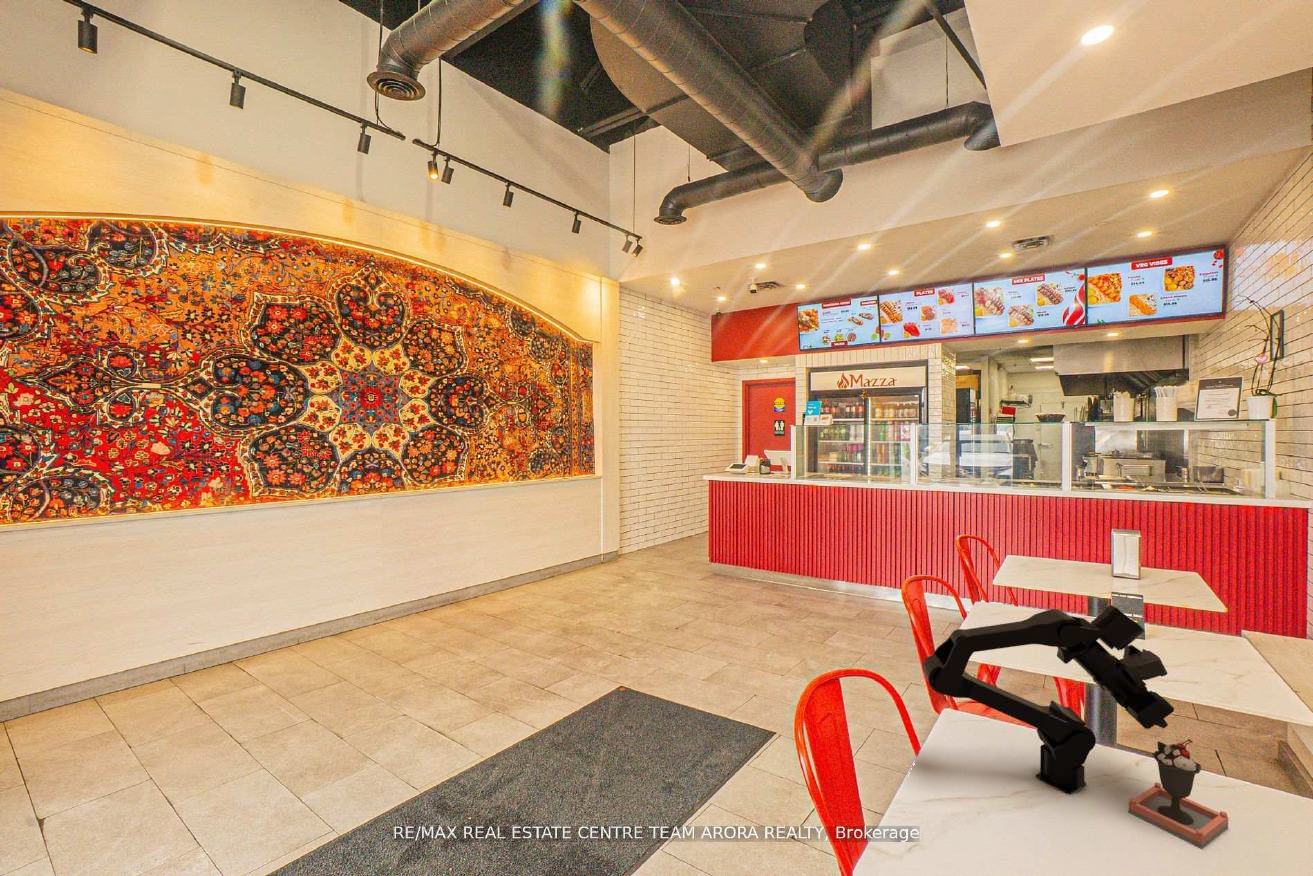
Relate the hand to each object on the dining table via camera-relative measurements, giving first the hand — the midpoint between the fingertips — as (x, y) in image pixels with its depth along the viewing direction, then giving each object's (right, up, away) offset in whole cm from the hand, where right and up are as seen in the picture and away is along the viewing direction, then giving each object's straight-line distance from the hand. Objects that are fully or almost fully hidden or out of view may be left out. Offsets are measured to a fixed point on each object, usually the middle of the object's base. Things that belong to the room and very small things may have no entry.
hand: (1165, 726), depth 114 cm
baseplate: (-4, -14, -7) cm, 16 cm away
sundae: (-4, -13, -7) cm, 15 cm away
